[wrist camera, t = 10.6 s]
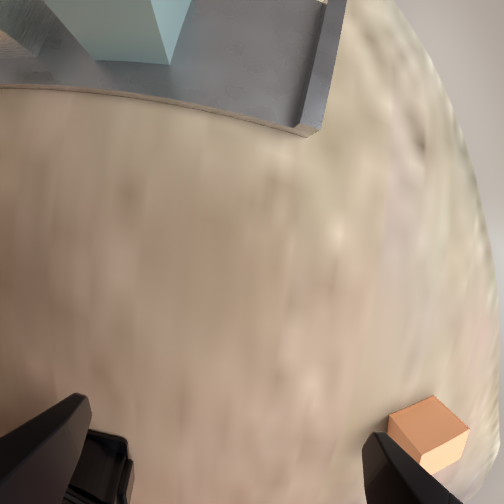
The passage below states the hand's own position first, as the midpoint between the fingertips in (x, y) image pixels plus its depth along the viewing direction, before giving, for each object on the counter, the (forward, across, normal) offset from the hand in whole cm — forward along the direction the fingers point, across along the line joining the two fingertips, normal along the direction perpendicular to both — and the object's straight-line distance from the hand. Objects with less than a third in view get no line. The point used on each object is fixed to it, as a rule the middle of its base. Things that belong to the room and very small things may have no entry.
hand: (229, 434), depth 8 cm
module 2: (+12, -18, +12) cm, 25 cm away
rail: (+14, +10, -15) cm, 23 cm away
